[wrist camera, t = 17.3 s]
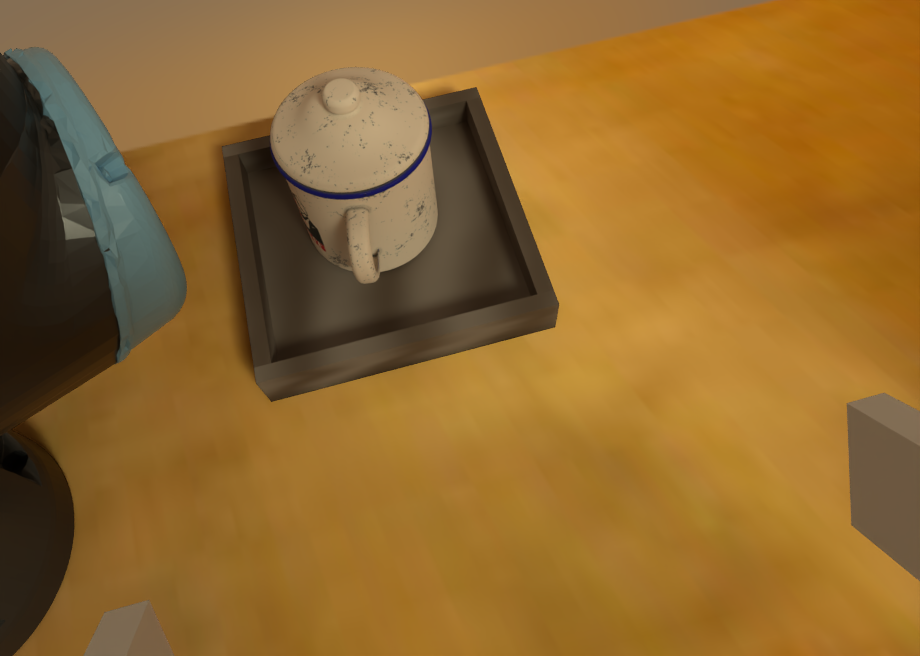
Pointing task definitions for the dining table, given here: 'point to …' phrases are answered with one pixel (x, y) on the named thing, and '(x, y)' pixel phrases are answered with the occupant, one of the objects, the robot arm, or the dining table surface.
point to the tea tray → (397, 290)
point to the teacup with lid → (359, 167)
